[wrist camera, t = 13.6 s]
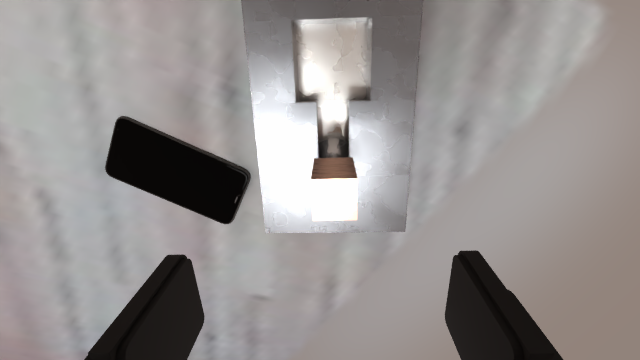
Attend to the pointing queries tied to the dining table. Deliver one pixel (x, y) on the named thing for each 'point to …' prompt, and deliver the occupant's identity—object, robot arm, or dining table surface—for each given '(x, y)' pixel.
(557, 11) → the dining table surface
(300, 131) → the keyhole plate
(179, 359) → the robot arm
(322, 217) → the peg
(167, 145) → the smartphone
